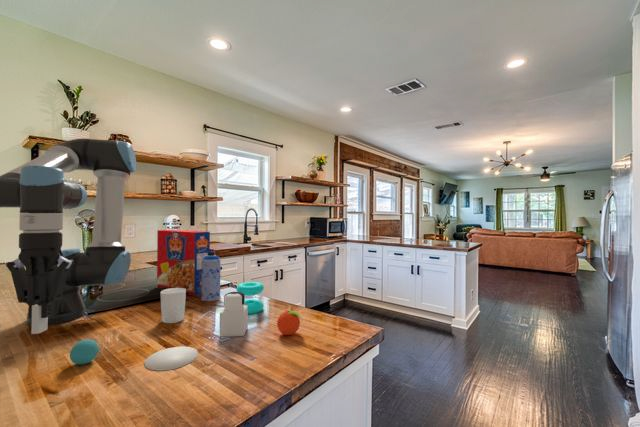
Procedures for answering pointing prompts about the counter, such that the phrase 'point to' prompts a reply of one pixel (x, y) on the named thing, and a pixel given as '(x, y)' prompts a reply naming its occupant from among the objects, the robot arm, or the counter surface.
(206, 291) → the aerosol can
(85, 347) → the ball
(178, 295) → the white cup
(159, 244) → the pasta box
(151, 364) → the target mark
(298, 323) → the clementine
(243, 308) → the medicine bottle
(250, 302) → the donuts
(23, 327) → the counter surface
